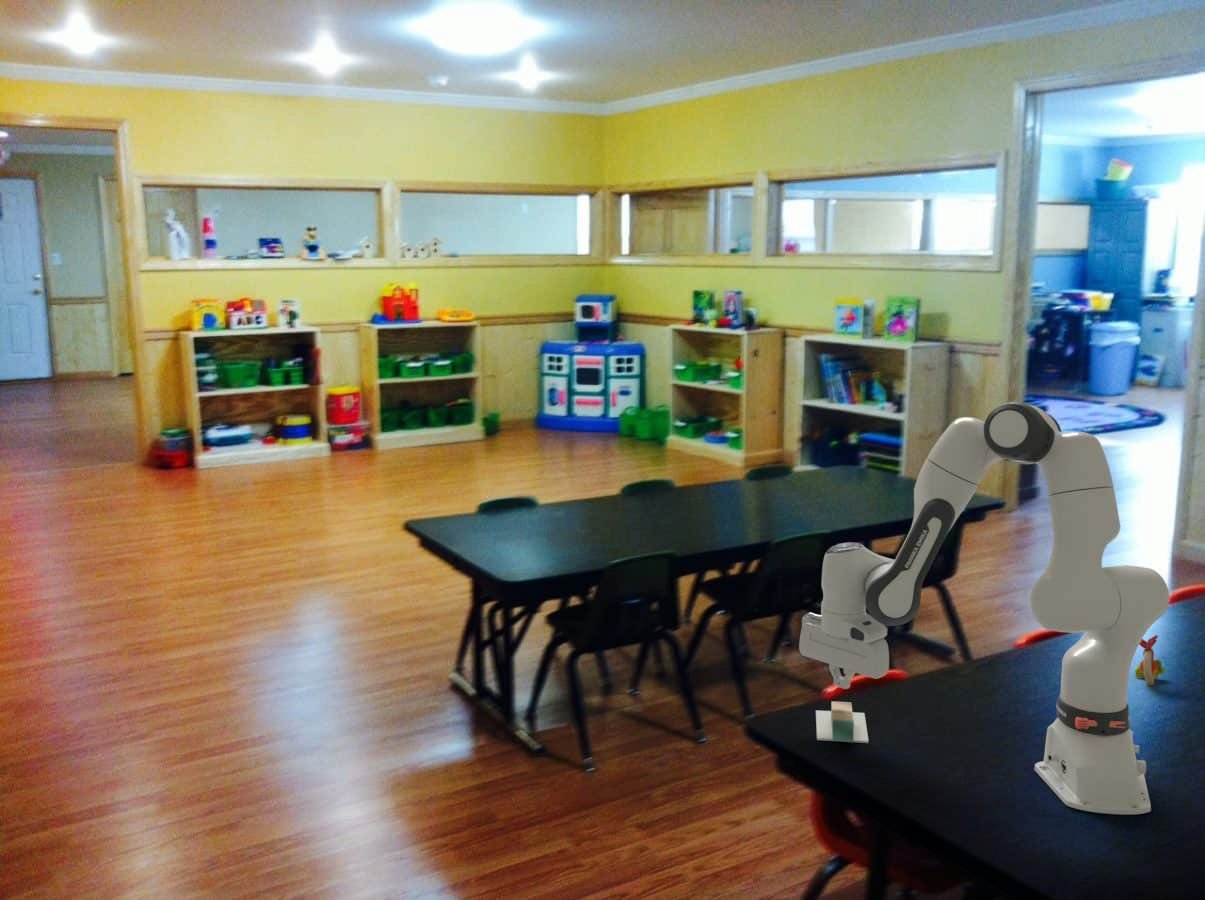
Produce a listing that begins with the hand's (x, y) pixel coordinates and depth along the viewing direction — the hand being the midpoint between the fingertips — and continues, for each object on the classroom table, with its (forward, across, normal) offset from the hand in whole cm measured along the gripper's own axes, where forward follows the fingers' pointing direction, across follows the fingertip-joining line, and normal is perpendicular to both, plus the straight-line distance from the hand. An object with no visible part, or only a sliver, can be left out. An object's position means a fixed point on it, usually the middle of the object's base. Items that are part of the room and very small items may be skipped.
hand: (841, 686), depth 223 cm
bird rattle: (+8, +32, +69) cm, 77 cm away
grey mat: (+8, +1, -1) cm, 8 cm away
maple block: (+6, -1, +1) cm, 6 cm away
